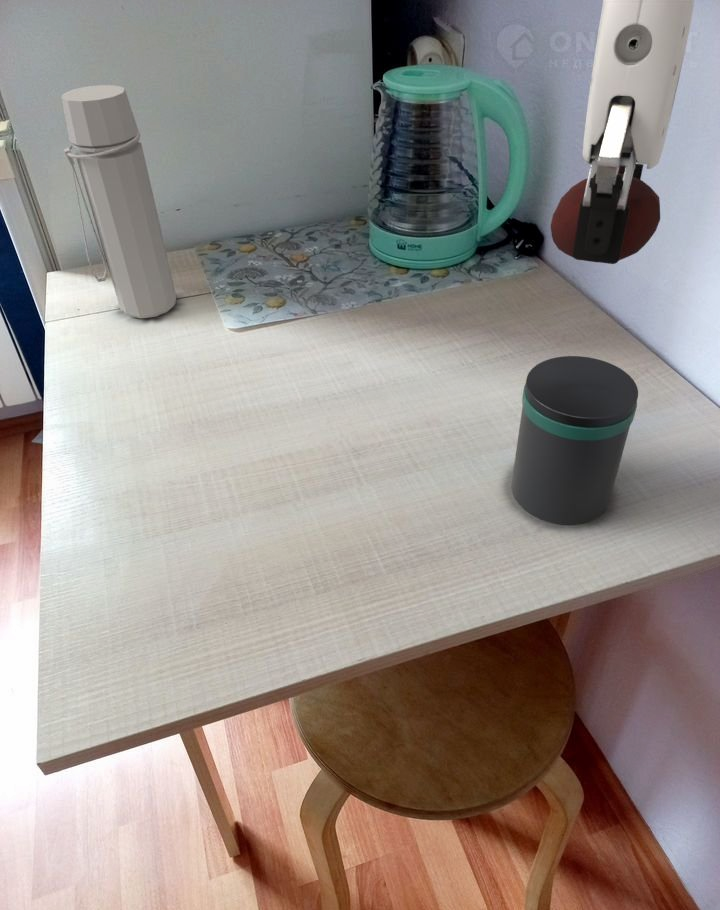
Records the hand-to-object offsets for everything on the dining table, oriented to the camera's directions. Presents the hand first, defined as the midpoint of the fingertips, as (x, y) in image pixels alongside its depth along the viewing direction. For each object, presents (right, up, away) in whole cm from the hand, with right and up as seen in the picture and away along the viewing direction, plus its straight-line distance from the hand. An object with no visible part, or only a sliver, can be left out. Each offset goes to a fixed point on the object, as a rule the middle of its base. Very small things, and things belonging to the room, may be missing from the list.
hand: (604, 235), depth 54 cm
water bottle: (-46, +2, +36) cm, 59 cm away
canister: (-1, -20, +8) cm, 21 cm away
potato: (0, -2, +1) cm, 2 cm away
